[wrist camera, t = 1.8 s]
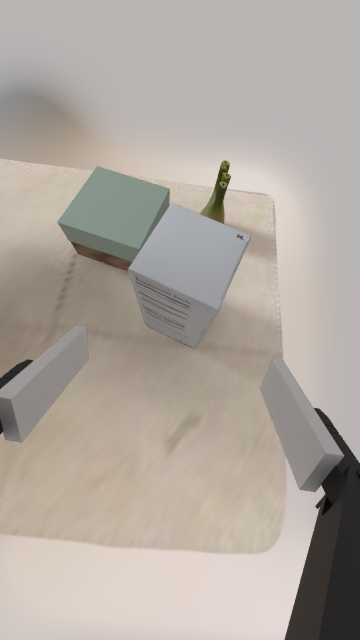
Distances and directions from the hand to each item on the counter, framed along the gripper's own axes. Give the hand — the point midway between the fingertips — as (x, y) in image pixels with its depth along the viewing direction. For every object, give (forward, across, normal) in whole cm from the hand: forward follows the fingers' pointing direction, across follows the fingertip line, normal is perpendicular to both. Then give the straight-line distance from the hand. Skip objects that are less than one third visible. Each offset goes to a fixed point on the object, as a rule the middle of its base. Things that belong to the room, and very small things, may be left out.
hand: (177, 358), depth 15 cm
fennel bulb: (+34, +2, +8) cm, 35 cm away
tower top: (+27, -13, +7) cm, 31 cm away
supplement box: (+20, 0, -5) cm, 21 cm away
